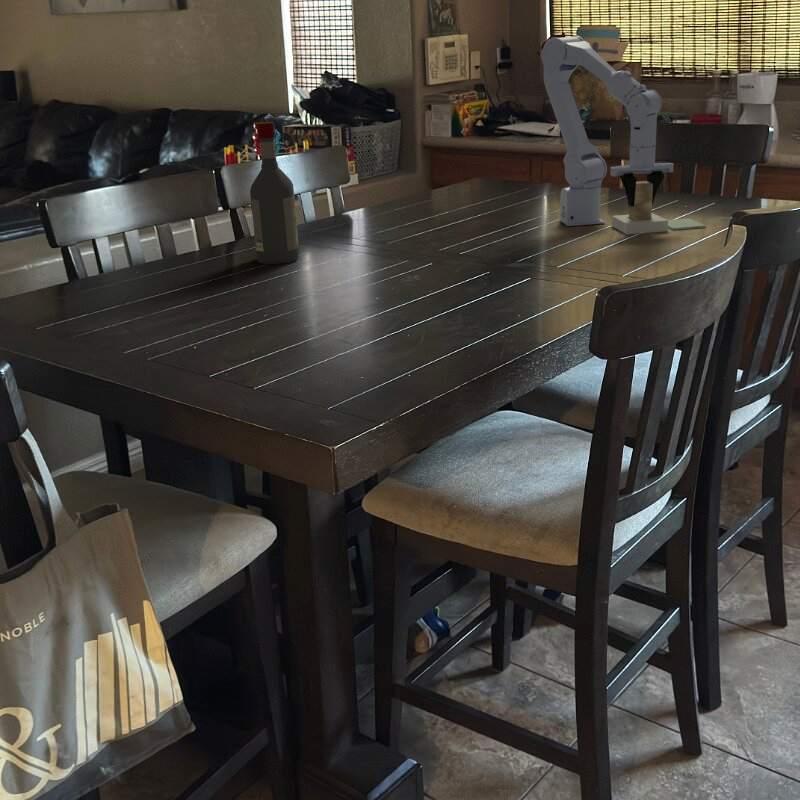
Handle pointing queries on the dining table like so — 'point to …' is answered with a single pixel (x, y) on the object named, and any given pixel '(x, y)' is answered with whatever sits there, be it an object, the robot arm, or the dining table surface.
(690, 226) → the mat
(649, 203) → the plug
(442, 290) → the dining table surface
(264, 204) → the liquor
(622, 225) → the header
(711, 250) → the dining table surface
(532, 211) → the dining table surface
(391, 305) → the dining table surface
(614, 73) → the robot arm
